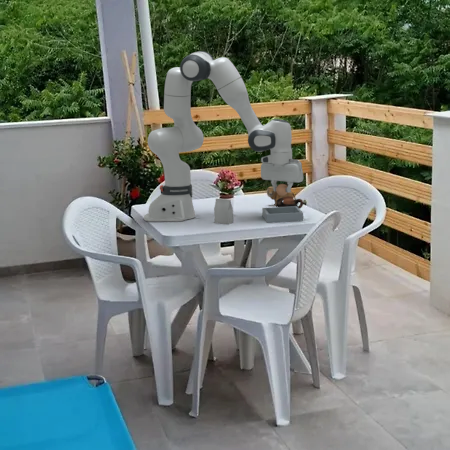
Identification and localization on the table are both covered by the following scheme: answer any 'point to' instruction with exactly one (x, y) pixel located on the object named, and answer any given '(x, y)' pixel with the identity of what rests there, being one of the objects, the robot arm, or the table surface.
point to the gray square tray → (282, 214)
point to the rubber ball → (281, 189)
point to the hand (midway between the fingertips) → (282, 191)
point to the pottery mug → (289, 202)
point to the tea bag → (223, 211)
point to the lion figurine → (275, 195)
